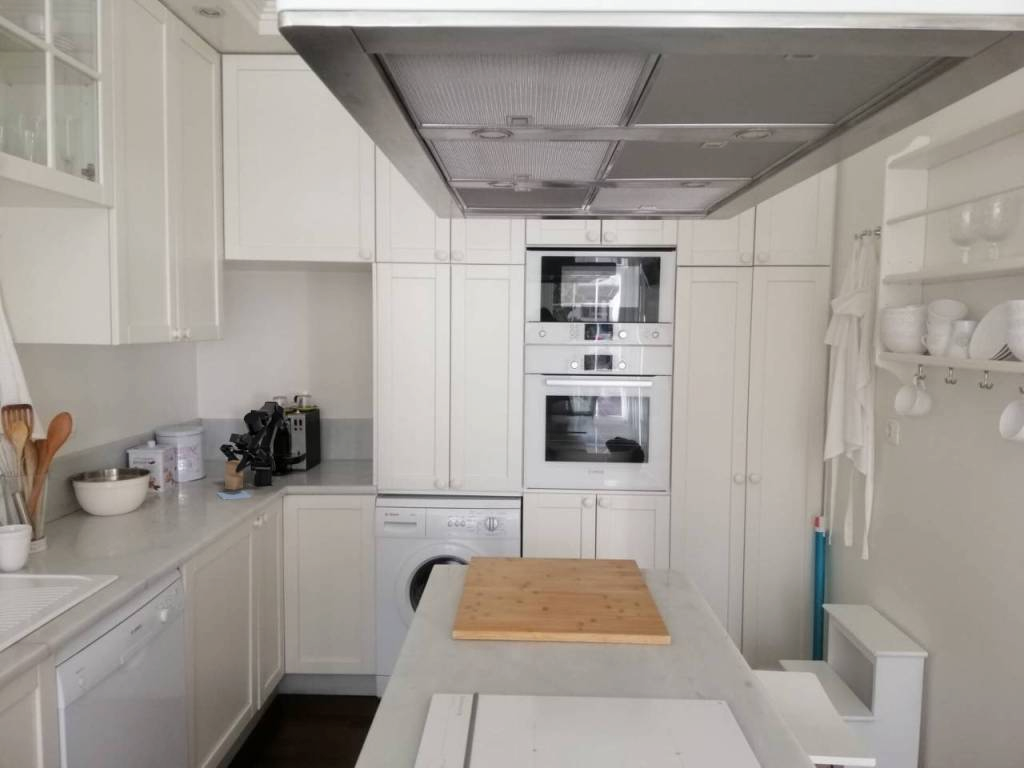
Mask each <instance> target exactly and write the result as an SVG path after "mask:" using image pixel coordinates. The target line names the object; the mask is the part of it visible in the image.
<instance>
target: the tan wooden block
mask: <svg viewBox="0 0 1024 768" xmlns="http://www.w3.org/2000/svg"><path fill="white" fill-rule="evenodd" d="M227 461H228V460H227ZM227 461H225V462H224V463H225V467H224V468H225V471H224V474H225V475H224V476H225V477H224V478H225V479H224V482H225V483H224V486H225V487H224V488H225V489H227V490H232V491H233V490H234V491H235V490H239V489H243V488H244V469H243V470H241V471H239V472H238V473H237V472H236V468H237V466H238V465H239V463H240V461H241V460H239V461H236V460H233V461H228V462H227Z"/></svg>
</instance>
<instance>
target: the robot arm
mask: <svg viewBox="0 0 1024 768" xmlns="http://www.w3.org/2000/svg"><path fill="white" fill-rule="evenodd" d="M286 415H287V414H286V410H285V408H284V407H282V406H281V405H279V403H278V402H277V401H274V400H273V401H270V400H269V401H265V402H264V404H263V405H262V406H261V408H259V409H250V412H247V413H246V414H245V415H244V416H243V422H244V425H245V426H246V427H245V428H246V429H247V432H245V433H243V434H241V433H240V434H239V433H233V432H232V433H231V435H230V437H229V440H228V441H229V442H230V443H233V444H234V446H235V447H236V448H235V447H234V446H233V444H229V443H228V444H227V443H224V444H222V445H221V446H220V447H219V451H220V452H221V453H222V454H223V455H224V456H225V457H226V458H227V460H226V462H228V461H233V460H236V461H240V463H239V465H238V466H237V468H236V472H237V473H238V472H239V471H241V470H243V471H244V470H245V469H246V468H248V467H250V471H251V472H253V474H252V485H253V486H255V487H256V488H260V487H262V488H263V487H273V486H274V484H273V481H272V477H273V472H274V471H276V463H275V461H276V460H274V456H273V453H272V448H273V445H274V441H275V438H276V435H277V431H278V428H280V427H282V426H283V425H284V422H285V421H286V417H287V416H286ZM238 456H242V457H241V460H240V459H239V458H238Z"/></svg>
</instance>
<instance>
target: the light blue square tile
mask: <svg viewBox="0 0 1024 768" xmlns="http://www.w3.org/2000/svg"><path fill="white" fill-rule="evenodd" d="M216 495H217V496H218V497H219V498H220V497H221V498H222V499H221V498H220V499H221V500H223V501H227V500H226V499H229V500H236V499H237V500H239V499H247V498H252V495H251V494H250V493H248V492H247V491H246V490H236V491H235V490H234V491H233V490H232V491H224V492H223V491H222V492H216Z"/></svg>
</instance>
